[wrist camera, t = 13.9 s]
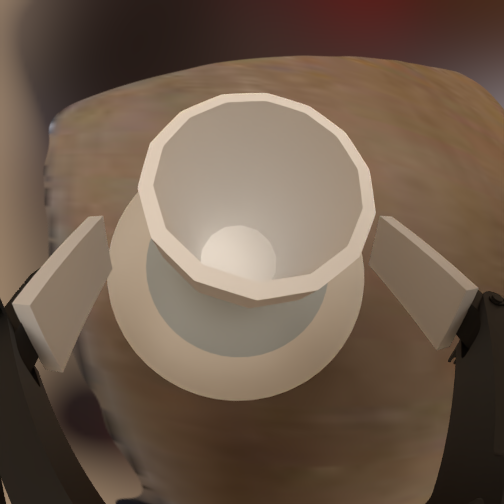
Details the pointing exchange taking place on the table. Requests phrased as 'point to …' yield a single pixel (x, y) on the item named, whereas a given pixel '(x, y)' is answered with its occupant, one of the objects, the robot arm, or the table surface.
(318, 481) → the table surface
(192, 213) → the foam cup
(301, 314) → the plate
